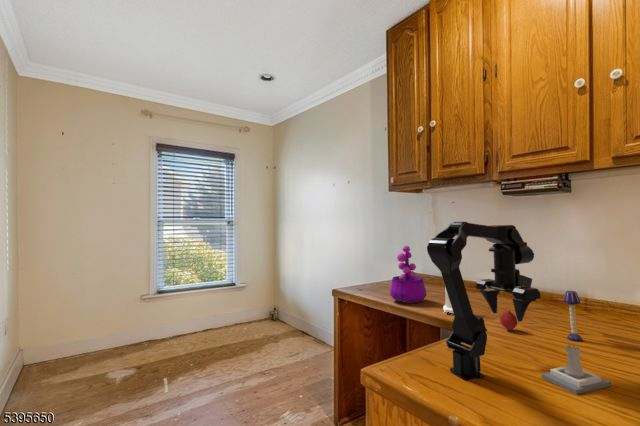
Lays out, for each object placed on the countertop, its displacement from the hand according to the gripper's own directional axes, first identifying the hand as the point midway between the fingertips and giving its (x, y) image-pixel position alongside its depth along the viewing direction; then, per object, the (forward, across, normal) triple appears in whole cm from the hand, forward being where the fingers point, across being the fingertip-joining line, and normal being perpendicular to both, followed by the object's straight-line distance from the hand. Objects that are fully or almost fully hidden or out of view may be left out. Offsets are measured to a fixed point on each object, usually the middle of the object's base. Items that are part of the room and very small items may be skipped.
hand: (506, 317), depth 100 cm
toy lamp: (+13, +6, -35) cm, 38 cm away
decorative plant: (+13, +75, -11) cm, 77 cm away
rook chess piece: (+12, -16, -5) cm, 21 cm away
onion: (+13, +21, -22) cm, 33 cm away
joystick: (+13, +50, -19) cm, 55 cm away
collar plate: (+13, -16, -5) cm, 21 cm away
